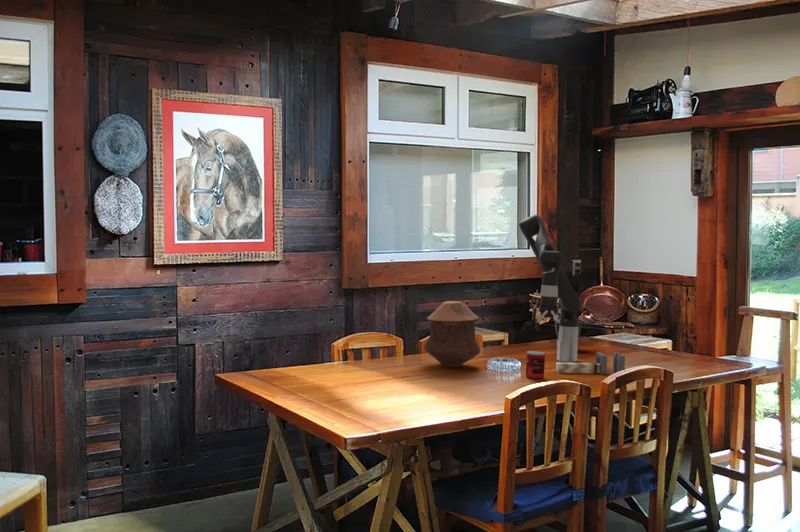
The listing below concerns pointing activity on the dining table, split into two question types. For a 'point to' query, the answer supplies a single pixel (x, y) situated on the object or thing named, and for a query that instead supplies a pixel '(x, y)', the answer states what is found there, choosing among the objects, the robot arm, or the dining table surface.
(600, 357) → the iron collars
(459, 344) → the pottery vessel
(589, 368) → the ash bar
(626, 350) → the dining table surface
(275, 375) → the dining table surface
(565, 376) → the dining table surface
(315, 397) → the dining table surface
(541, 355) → the canned food
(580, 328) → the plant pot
